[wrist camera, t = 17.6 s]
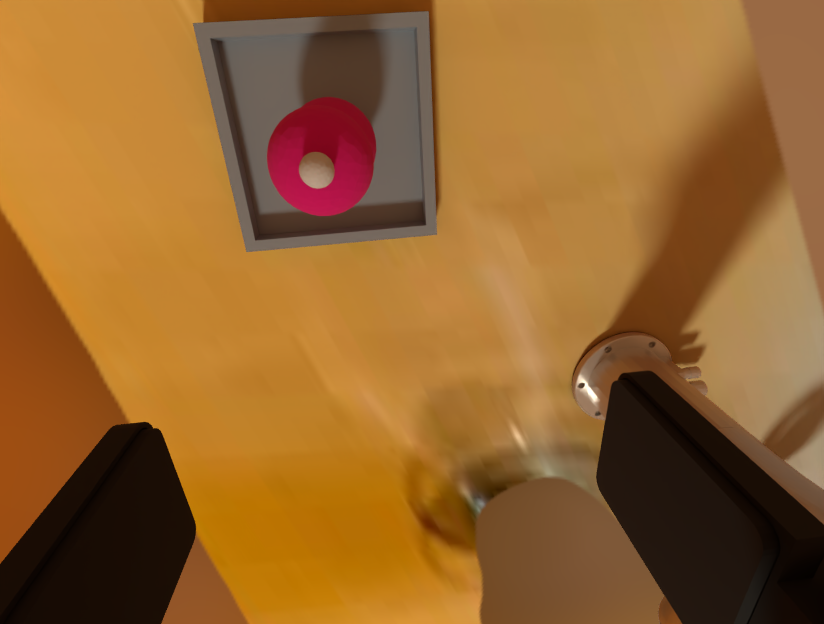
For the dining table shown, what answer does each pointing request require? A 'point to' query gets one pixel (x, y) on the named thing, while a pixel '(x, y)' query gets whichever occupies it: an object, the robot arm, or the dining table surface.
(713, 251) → the dining table surface
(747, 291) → the dining table surface
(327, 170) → the pepper mill
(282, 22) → the tray
